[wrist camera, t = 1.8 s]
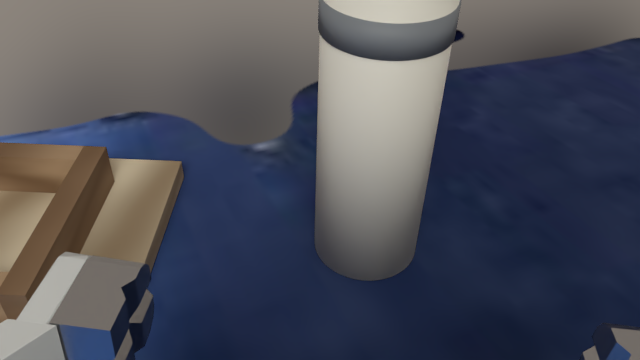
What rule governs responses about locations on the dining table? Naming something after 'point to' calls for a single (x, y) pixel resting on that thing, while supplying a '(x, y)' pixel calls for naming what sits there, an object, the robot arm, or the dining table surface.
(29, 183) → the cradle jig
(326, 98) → the grooved cream capsule
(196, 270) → the dining table surface
